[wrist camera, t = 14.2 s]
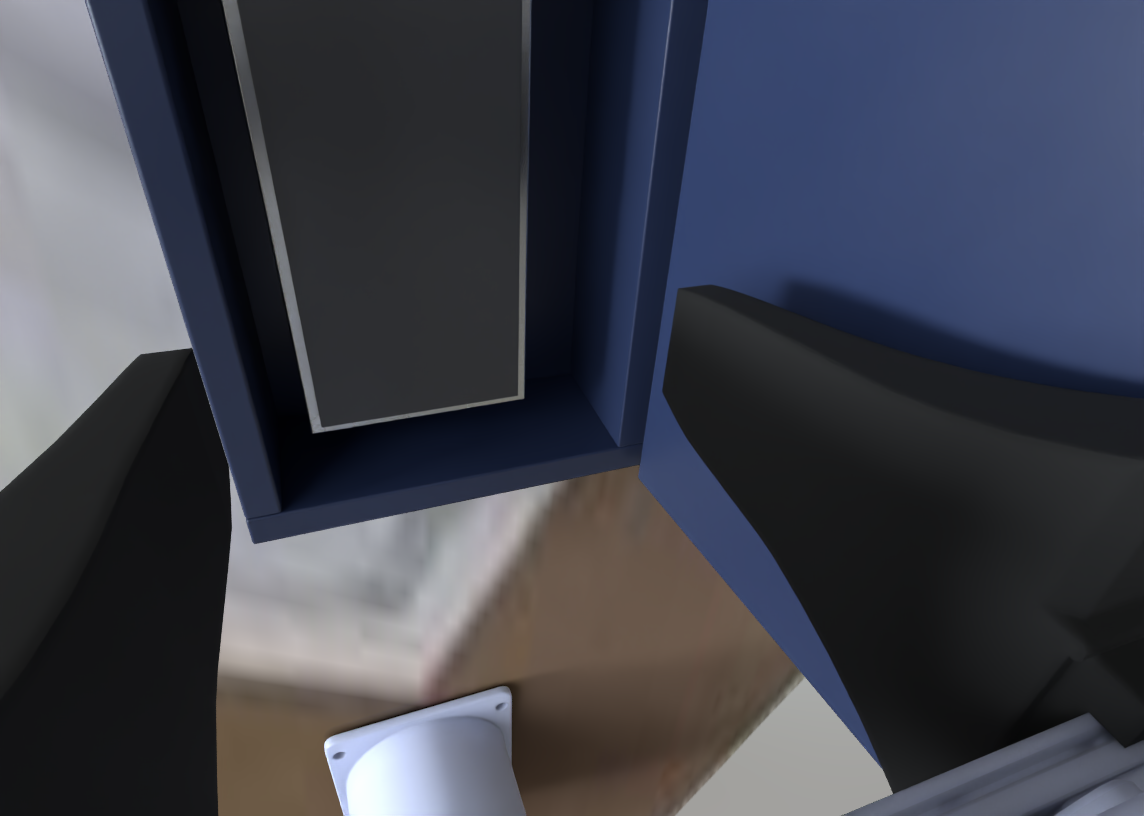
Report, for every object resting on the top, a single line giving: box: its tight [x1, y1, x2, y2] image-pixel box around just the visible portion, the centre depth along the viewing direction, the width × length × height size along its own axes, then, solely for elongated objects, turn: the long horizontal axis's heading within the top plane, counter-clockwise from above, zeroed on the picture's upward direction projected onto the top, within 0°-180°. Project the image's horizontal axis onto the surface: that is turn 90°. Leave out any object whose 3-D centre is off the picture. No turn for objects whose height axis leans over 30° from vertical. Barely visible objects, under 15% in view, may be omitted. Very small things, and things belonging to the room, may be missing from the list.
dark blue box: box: [85, 0, 709, 544], centre depth 15 cm, size 10×14×5 cm
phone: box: [220, 0, 532, 434], centre depth 15 cm, size 10×5×3 cm, turn 178°
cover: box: [638, 0, 1144, 768], centre depth 11 cm, size 11×14×1 cm
